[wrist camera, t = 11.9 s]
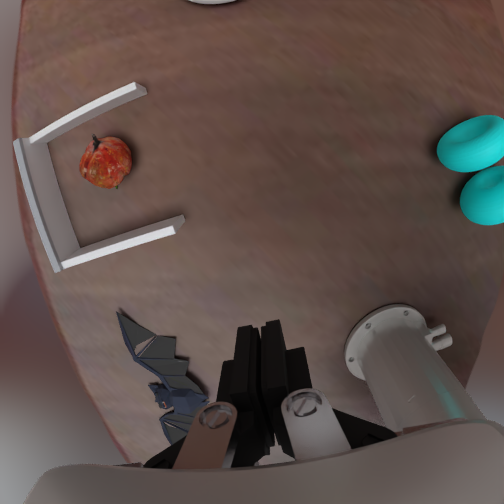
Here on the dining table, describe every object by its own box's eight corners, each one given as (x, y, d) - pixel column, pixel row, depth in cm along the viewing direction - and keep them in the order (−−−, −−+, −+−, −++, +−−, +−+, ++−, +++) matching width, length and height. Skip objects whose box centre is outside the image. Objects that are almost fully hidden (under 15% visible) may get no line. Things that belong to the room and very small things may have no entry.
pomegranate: (146, 175, 33) (135, 119, 27) (126, 211, 30) (108, 154, 24) (106, 170, 34) (90, 118, 27) (84, 204, 31) (61, 152, 24)
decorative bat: (225, 464, 43) (169, 459, 44) (228, 446, 46) (174, 442, 48) (181, 318, 33) (105, 319, 34) (190, 301, 37) (119, 303, 38)
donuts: (467, 112, 29) (520, 110, 20) (495, 177, 32) (545, 191, 22) (418, 149, 31) (470, 154, 22) (450, 217, 34) (500, 240, 24)
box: (145, 87, 29) (127, 77, 23) (185, 221, 33) (173, 235, 28) (40, 140, 30) (12, 142, 24) (77, 255, 35) (54, 272, 29)
